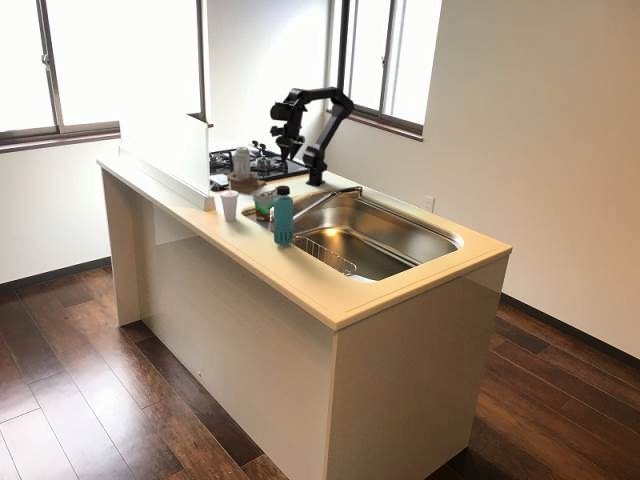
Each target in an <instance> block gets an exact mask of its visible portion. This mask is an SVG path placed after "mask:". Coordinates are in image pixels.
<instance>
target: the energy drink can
mask: <svg viewBox="0 0 640 480" xmlns="http://www.w3.org/2000/svg"><path fill="white" fill-rule="evenodd" d="M234 166H235V168H234V169H235V171H234V172H236V178H237V179H247V178H250V172H251V152H250V150H249V147H247V146H237V147H236V148H235V151H234Z"/></svg>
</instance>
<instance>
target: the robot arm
mask: <svg viewBox="0 0 640 480" xmlns="http://www.w3.org/2000/svg"><path fill="white" fill-rule="evenodd" d="M320 100H329V101H330V102H331V104H332V107H331V115H330V117H329V119H328V121H327V123H326V124H325V126H324V127H323V129H322V131H321V133H320V134H319V136H318V138H317V139H316V142H315V143H314V144H313V145H307V147H306V148H305V150H304V152H303V153H302V154H303V155H302V162H303V164H304V167H305V168H307V169H308V180H307V181H305V184H306V185H312V186H316V187H321V186H322V185H323V184H325V183H326V180H324V179H323V173H324V172H326V171H327V170H328V167H329V166H328V164H327V163H326V162H325V161H324V160H325V157H326V149H327V148H328V146H329V144H330V143H331V141H332V139H333V137H334V136H335V134H336V133H337V130H338V129H339V127H340V125H341V124H342V122H343V121H344V120H345V119H347V118H349V117H350V115H351V114H352V113H353V112H354V110H355V105H354V104H355V103H354V100H352V99H351V98H349V96H348V95H346V94H345V93H344V92H343V91H342V90H341V89H340V88H339V87H336V86H329V87H328V86H327V87H322V88H313V89H303V88H296V87H293V88H291V89H290V90H289V92H288V94H287V96H285V97H284V99H283V100H282V101H281V102H280V101H275V102H274V104H273V105H272V106H271V108H270V110H269V115H270V119H271V120H273V121H280V122H286V123H284V124H283V126H281V127H278V126H277V125H273V126H271V127H270V129H269V130H270V131H269V133H270V134H271V137H272V138H274V137H276V138H275V141H274V142H275V144H276V145H277V146H278V148H279V150H280V155H281V157H280V158H281V163H283V164H285V163H286V161H287V160H288V158H289V160H290V161H293V160H294V158H295V157H296V155H297V154H298V152H299V151H300V150H301V148H302V147H303V146H304V144H305V143H306V138H305V136H304V135H301V134H300V132H301V129H303V125H302V120H303V116H304V112H305V113H307V112H309V110H308V108H307V107H306V105H309V104H311V102H314V101H320Z"/></svg>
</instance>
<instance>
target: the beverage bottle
mask: <svg viewBox="0 0 640 480" xmlns="http://www.w3.org/2000/svg"><path fill="white" fill-rule="evenodd" d="M276 187H277V194H278V195H280V196H277V197H276V198H275V199H274V200H273V202H274V221H273V242H274V243H275V244H276V245H278V246H289V245H291V244H293V241H294V238H295V237H294V235H295V234H294V199H293V198H292V197H291V196H289V195H291V189H290V187H289V185H278V186H276Z"/></svg>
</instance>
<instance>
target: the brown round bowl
mask: <svg viewBox="0 0 640 480" xmlns="http://www.w3.org/2000/svg"><path fill="white" fill-rule="evenodd" d="M226 176H227V179H226V180H227V181H228V184H229V181H230V186H231V190H233V191H236V192H238V193H239V194H240V193H241V194H244V195H245V194H246V195H251V193H253V192H254V191H256V190H258V189H259V188H261V187H263V186H265V185H266V184H267V181H264V180H261V179H260V180H259V179H258V173H256V172H254V171H250V178H247V179H237V178H236V172H235V171H232V172H230V173H228V174H227V175H226ZM227 181H226V182H227ZM224 188H225V189H226V190H225V189H224V190H225V191H227V190H229V186H227V187H224Z"/></svg>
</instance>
